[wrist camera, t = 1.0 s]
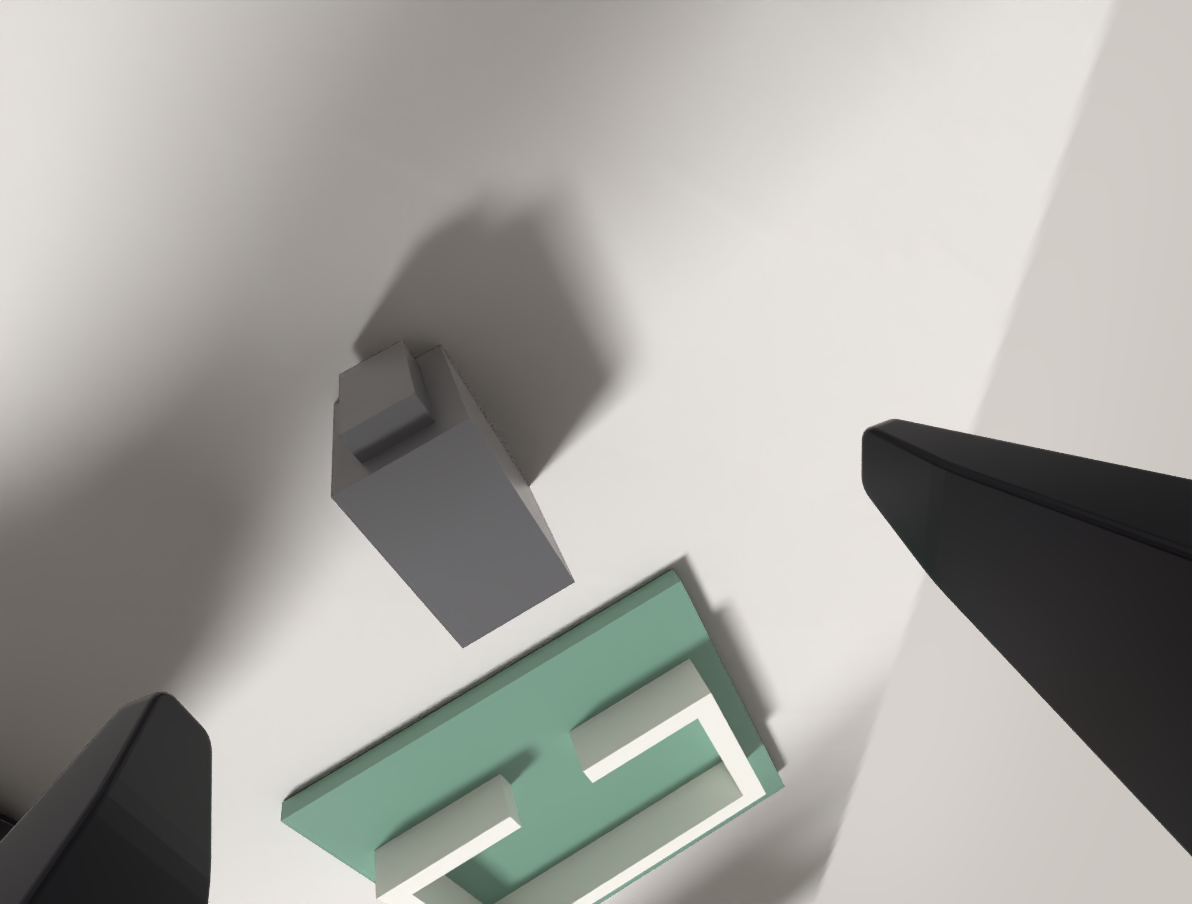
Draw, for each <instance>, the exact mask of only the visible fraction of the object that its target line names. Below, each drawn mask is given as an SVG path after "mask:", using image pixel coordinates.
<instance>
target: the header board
mask: <svg viewBox="0 0 1192 904" xmlns="http://www.w3.org/2000/svg"><path fill="white" fill-rule="evenodd" d="M783 787H785V786H784V784H783V782H782V780H781V778H780V776H779V774H778V772H777V770H776V768H775V766H774V764H773V762H772V760H771V758H770V756H769V754H768V752H767V750H766V749H765V747H764V745H763V743H762V741H761V739H760V737H759V735H758V733H757V731H756V729H755V727H754V725H753V723H752V721H751V719H750V717H749V715H748V713H747V711H746V709H745V707H744V705H743V703H742V701H741V699H740V697H739V695H738V693H737V691H736V689H735V687H734V685H733V683H732V681H731V679H730V677H729V675H728V673H727V671H726V669H725V667H724V665H723V663H722V661H721V659H720V657H719V655H718V653H717V651H716V649H715V647H714V645H713V643H712V641H711V639H710V637H709V635H708V633H707V631H706V629H705V627H704V625H703V623H702V621H701V619H700V617H699V615H698V613H697V611H696V609H695V607H694V605H693V603H692V601H691V599H690V597H689V595H688V593H687V591H686V590H685V588H684V586H683V584H682V582H681V580H680V578H679V577H678V576H677V574H676V573H675V571H674V570H673V569H671V570H670V571H668V572H666V573H665V574H663V575H661V576H660V577H658V578H656V579H655V580H653V581H651V582H650V583H648V584H646V585H645V586H643V587H641V588H640V589H638V590H636V591H635V592H633V593H631V594H630V595H628V596H626V597H625V598H623V599H621V600H620V601H618V602H616V603H615V604H613V605H611V606H610V607H608V608H606V609H605V610H603V611H601V612H600V613H598V614H596V615H595V616H593V617H591V618H590V619H588V620H586V621H585V622H583V623H581V624H580V625H578V626H576V627H575V628H573V629H571V630H570V631H568V632H566V633H565V634H563V635H561V636H560V637H558V638H556V639H555V640H553V641H551V642H550V643H548V644H546V645H545V646H543V647H541V648H540V649H538V650H536V651H535V652H533V653H531V654H530V655H528V656H526V657H525V658H523V659H521V660H520V661H518V662H516V663H514V664H513V665H511V666H509V667H508V668H506V669H504V670H503V671H501V672H499V673H498V674H496V675H494V676H493V677H491V678H489V679H488V680H486V681H484V682H483V683H481V684H479V685H478V686H476V687H474V688H473V689H471V690H469V691H468V692H466V693H464V694H463V695H461V696H459V697H458V698H456V699H454V700H453V701H451V702H449V703H448V704H446V705H444V706H443V707H441V708H439V709H438V710H436V711H434V712H433V713H431V714H429V715H428V716H426V717H424V718H423V719H421V720H419V721H418V722H416V723H414V724H413V725H411V726H409V727H408V728H406V729H404V730H403V731H401V732H399V733H398V734H396V735H394V736H393V737H391V738H389V739H388V740H386V741H384V742H383V743H381V744H379V745H378V746H376V747H374V748H373V749H371V750H369V751H368V752H366V753H364V754H363V755H361V756H359V757H358V758H356V759H354V760H353V761H351V762H349V763H347V764H346V765H344V766H342V767H341V768H339V769H337V770H336V771H334V772H332V773H331V774H329V775H327V776H326V777H324V778H322V779H321V780H319V781H317V782H316V783H314V784H312V785H311V786H309V787H307V788H306V789H304V790H302V791H301V792H299V793H297V794H296V795H294V796H292V797H291V798H289V799H287V800H286V801H284V802H282V812H281V822H283V823H284V824H286V825H287V826H289V827H290V828H292V829H293V830H295V831H296V832H298V833H299V834H301V835H302V836H304V837H305V838H307V839H309V840H310V841H312V842H313V843H315V844H316V845H318V846H319V847H321V848H322V849H324V850H325V851H327V852H328V853H330V854H331V855H333V856H334V857H336V858H337V859H339V860H340V861H342V862H343V863H345V864H346V865H348V866H349V867H351V868H353V869H354V870H356V871H357V872H359V873H360V874H362V875H363V876H365V877H366V878H368V879H369V880H371V881H372V882H374V883H375V884H376V899H377V900H379V901H380V902H382V903H383V904H600V903H601V902H603V901H604V900H606V899H607V898H609V897H611V896H612V895H614V894H615V893H617V892H619V891H620V890H622V889H623V888H625V887H626V886H628V885H630V884H631V883H633V882H634V881H636V880H638V879H639V878H641V877H642V876H644V875H645V874H647V873H649V872H650V871H652V870H653V869H655V868H657V867H658V866H660V865H661V864H663V863H664V862H666V861H668V860H669V859H671V858H672V857H674V856H676V855H677V854H679V853H680V852H682V851H683V850H685V849H687V848H688V847H690V846H691V845H693V844H695V843H696V842H698V841H699V840H701V839H703V838H704V837H706V836H707V835H709V834H710V833H712V832H714V831H715V830H717V829H718V828H720V827H722V826H723V825H725V824H726V823H728V822H729V821H731V820H733V819H734V818H736V817H737V816H739V815H741V814H742V813H744V812H745V811H747V810H748V809H750V808H752V807H753V806H755V805H756V804H758V803H760V802H761V801H763V800H764V799H766V798H767V797H769V796H771V795H772V794H774V793H775V792H777V791H779V790H780V789H782V788H783Z"/></svg>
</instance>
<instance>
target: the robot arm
mask: <svg viewBox="0 0 1192 904" xmlns="http://www.w3.org/2000/svg"><path fill="white" fill-rule="evenodd" d="M862 483H863V486H864V489H865V491H866V493H867V495H868V496H869V498H870V499H871V500H872V502H873V503H874V504H875V506H876V507H877V508H878V510H879V511H880V512H881V514H882V515H883V516H884V518H885V519H886V520H887V521H888V523H889V524H890V525H891V527H892V528H893V529H894V531H895V532H896V533H897V535H898V536H899V537H900V539H901V540H902V541H903V543H904V544H905V545H906V547H907V548H908V549H909V550H910V552H911V553H912V554H913V556H914V557H915V558H916V560H917V561H918V562H919V564H920V565H921V566H922V568H923V569H924V570H925V571H926V573H927V574H928V575H929V576H930V578H931V579H932V580H933V581H934V582H935V584H936V585H937V586H938V587H939V588H940V589H941V590H942V591H943V592H944V594H945V595H946V596H947V597H948V598H949V599H950V600H951V601H952V602H953V603H954V604H955V605H956V606H957V608H958V609H959V610H960V611H961V612H962V613H963V614H964V615H965V616H966V617H967V618H968V619H969V620H970V621H971V622H972V623H973V624H974V626H976V628H977V629H978V630H979V631H980V632H981V633H982V634H983V635H984V636H985V637H986V638H987V639H988V640H989V642H990V643H991V644H992V645H993V646H994V647H995V648H996V649H997V650H998V651H999V652H1000V653H1001V654H1002V655H1003V656H1004V657H1005V658H1006V660H1007V661H1008V662H1009V663H1010V664H1011V665H1012V666H1013V667H1014V668H1015V669H1016V670H1017V671H1018V672H1019V673H1020V674H1021V676H1022V677H1023V678H1024V679H1025V680H1026V681H1027V682H1028V683H1029V684H1030V685H1031V686H1032V687H1033V688H1034V689H1035V690H1036V691H1037V692H1038V694H1039V695H1040V696H1041V697H1042V698H1043V699H1044V700H1045V701H1046V702H1047V703H1048V704H1049V705H1050V706H1051V707H1052V708H1053V710H1054V711H1055V712H1056V713H1057V714H1058V715H1059V716H1060V717H1061V718H1062V719H1063V720H1064V721H1065V722H1066V723H1067V724H1068V725H1069V727H1070V728H1072V730H1073V731H1074V732H1076V734H1077V735H1078V736H1079V737H1080V738H1081V739H1082V740H1083V741H1084V742H1085V744H1086V745H1087V746H1088V747H1089V748H1090V749H1091V750H1092V751H1093V752H1094V753H1095V754H1096V755H1097V756H1098V757H1099V758H1100V759H1101V761H1102V762H1103V763H1104V764H1105V765H1106V766H1107V767H1108V768H1109V769H1110V770H1111V771H1112V772H1113V773H1114V774H1115V775H1116V776H1117V778H1118V779H1119V780H1120V781H1121V782H1122V783H1123V784H1124V785H1125V786H1126V787H1127V788H1128V789H1129V790H1130V791H1131V792H1132V793H1133V795H1134V796H1135V797H1136V798H1137V799H1138V800H1139V801H1140V802H1141V803H1142V804H1143V805H1144V806H1145V807H1146V808H1147V809H1148V810H1149V812H1151V814H1152V815H1153V816H1154V817H1155V818H1156V819H1157V820H1158V821H1159V822H1160V823H1161V824H1162V825H1163V826H1164V828H1165V829H1166V830H1167V831H1168V832H1169V833H1170V834H1171V835H1172V836H1173V837H1174V838H1175V839H1176V840H1177V841H1178V842H1179V843H1180V845H1181V846H1182V847H1183V848H1184V849H1185V850H1186V851H1187V852H1188V853H1189V854H1190V855H1191V856H1192V480H1191V479H1186V478H1181V477H1176V476H1171V475H1166V474H1162V473H1156V472H1151V471H1147V470H1142V469H1137V468H1132V467H1128V466H1122V465H1118V464H1113V463H1108V462H1103V461H1098V460H1093V459H1088V458H1084V457H1079V456H1074V455H1069V454H1064V453H1059V452H1054V451H1050V450H1045V449H1040V448H1035V447H1030V446H1026V445H1020V444H1015V443H1011V442H1006V441H1001V440H996V439H991V438H987V437H982V436H977V435H972V434H967V433H962V432H958V431H953V430H948V429H943V428H938V427H933V426H928V425H924V424H919V423H914V422H909V421H904V420H899V419H891V420H887V421H885V422H882V423H879V424H877V425H874V426H871V427H869V428H867V429H866V430H865V431H864V433H863V436H862ZM211 797H212V748H211V742H210V739H209V736H208V734H207V732H206V731H205V729H204V728H203V727H202V726H201V725H200V724H199V722H198V721H197V720H196V719H195V718H194V717H193V716H192V715H191V714H190V713H189V712H188V711H187V710H186V709H185V708H184V707H183V705H182V704H181V703H180V702H179V701H178V700H177V699H176V698H175V697H174V696H173V695H171V694H169V693H167V692H156V693H154V694H151V695H148V696H146V697H143V698H140V699H138V700H135V701H132V702H130V703H128V704H126V705H125V706H123V707H122V708H121V709H120V710H119V711H118V712H117V713H116V714H115V715H114V716H113V718H112V719H111V720H110V721H109V722H108V723H107V724H106V725H105V726H104V728H103V729H102V730H101V731H100V732H99V733H98V734H97V735H96V736H95V737H94V739H93V740H92V741H91V742H90V743H89V744H88V745H87V746H86V747H85V749H84V750H83V751H82V752H81V753H80V754H79V755H78V756H77V757H76V758H75V760H74V761H73V762H72V763H71V764H70V765H69V766H68V767H67V768H66V770H65V771H64V772H63V773H62V774H61V775H60V776H59V777H58V778H57V780H56V781H55V782H54V783H53V784H52V785H51V786H50V787H49V788H48V789H47V791H46V792H45V793H44V794H43V795H42V796H41V797H40V798H39V799H38V801H37V802H36V803H35V804H34V805H33V806H32V807H31V808H30V809H29V810H28V812H27V813H26V814H25V815H24V816H23V817H22V818H21V819H20V820H19V822H16V821H14V820H12V819H10V818H8V817H6V816H4V815H2V814H0V904H208V898H209V887H210V872H211Z"/></svg>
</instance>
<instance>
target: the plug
mask: <svg viewBox="0 0 1192 904" xmlns="http://www.w3.org/2000/svg"><path fill="white" fill-rule="evenodd" d="M331 498H332V499H333V500H334V501H335V502H336V503H337V504H338V506H339V507H340V508H341V509H342V510H343V511H344V512H345V514H346V515H347V516H348V517H349V518H350V519H351V520H352V522H353V523H354V524H355V525H356V526H357V527H358V529H359V530H360V531H361V532H362V533H363V534H364V535H365V537H366V538H367V539H368V540H369V541H370V542H371V543H372V545H373V546H374V547H375V548H376V549H377V550H378V552H379V553H380V554H381V555H382V556H383V557H384V558H385V560H386V561H387V562H388V563H389V564H390V565H391V566H392V568H393V569H394V570H395V571H396V572H397V573H398V574H399V576H400V577H401V578H402V579H403V580H404V581H405V583H406V584H407V585H408V586H409V587H410V588H411V589H412V591H413V592H414V593H415V594H416V595H417V596H418V597H419V599H420V600H421V601H422V602H423V603H424V604H425V606H426V607H427V608H428V609H429V610H430V611H431V612H432V614H433V615H434V616H435V617H436V618H437V619H438V620H439V622H440V623H441V624H442V625H443V626H444V627H445V628H446V630H447V631H448V632H449V633H450V634H451V635H452V637H453V638H454V639H455V640H456V641H457V642H458V643H459V645H460V646H461V647H462V648H464V647H466V646H468V645H469V644H471V643H473V642H475V641H476V640H478V639H480V638H481V637H483V636H485V635H486V634H488V633H490V632H491V631H493V630H495V629H496V628H498V627H500V626H502V625H503V624H505V623H507V622H508V621H510V620H512V619H513V618H515V617H517V616H518V615H520V614H522V613H523V612H525V611H527V610H529V609H530V608H532V607H534V606H535V605H537V604H539V603H540V602H542V601H544V600H545V599H547V598H549V597H550V596H552V595H554V594H555V593H557V592H559V591H561V590H562V589H564V588H566V587H567V586H569V585H571V584H572V583H574V582H575V581H574V579H573V577H572V575H571V573H570V571H569V569H568V567H567V565H566V562H565V560H564V558H563V556H562V554H561V552H560V550H559V548H558V546H557V544H556V542H555V539H554V537H553V535H552V533H551V531H550V529H549V527H548V525H547V523H546V521H545V519H544V516H543V514H542V512H541V510H540V508H539V506H538V504H537V502H536V500H535V498H534V496H533V493H532V491H531V489H530V487H529V485H528V484H527V482H526V481H525V479H524V477H523V476H522V474H521V473H520V471H519V469H518V468H517V466H516V465H515V463H514V461H513V460H512V458H511V457H510V455H509V453H508V452H507V450H506V449H505V447H504V445H503V444H502V442H501V441H500V439H499V437H498V436H497V434H496V433H495V431H494V430H493V428H492V426H491V425H490V423H489V422H488V420H487V418H486V417H485V415H484V414H483V412H482V410H481V409H480V407H479V406H478V404H477V402H476V401H475V399H474V398H473V396H472V394H471V393H470V391H469V390H468V388H467V386H466V385H465V383H464V382H463V380H462V378H461V377H460V375H459V374H458V372H457V370H456V369H455V367H454V366H453V364H452V362H451V361H450V359H449V358H448V356H447V354H446V353H445V351H444V350H443V348H442V346H441V345H439V346H437V347H435V348H433V349H432V350H430V351H428V352H426V353H425V354H423V355H421V356H419V357H417V358H416V359H414V357H413V356H412V354H411V353H410V351H409V350H408V348H407V346H406V345H405V343H404V342H403V340H401V341H399V342H397V343H396V344H394V345H392V346H390V347H388V348H387V349H385V350H383V351H381V352H379V353H378V354H376V355H374V356H372V357H370V358H369V359H367V360H365V361H363V362H361V363H360V364H358V365H356V366H354V367H352V368H351V369H349V370H347V371H345V372H343V373H342V374H340V375H339V402H337V403H335V404H334V419H333V450H332V482H331Z"/></svg>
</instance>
